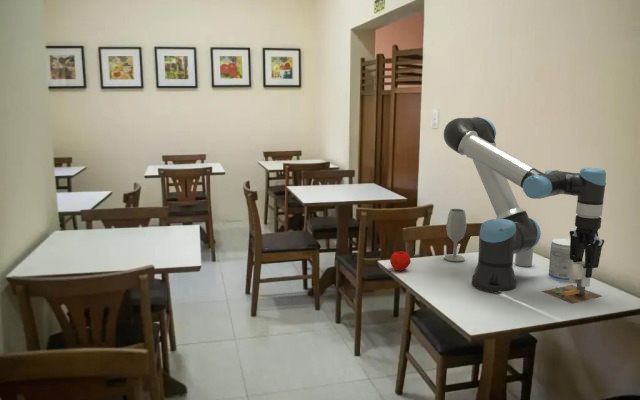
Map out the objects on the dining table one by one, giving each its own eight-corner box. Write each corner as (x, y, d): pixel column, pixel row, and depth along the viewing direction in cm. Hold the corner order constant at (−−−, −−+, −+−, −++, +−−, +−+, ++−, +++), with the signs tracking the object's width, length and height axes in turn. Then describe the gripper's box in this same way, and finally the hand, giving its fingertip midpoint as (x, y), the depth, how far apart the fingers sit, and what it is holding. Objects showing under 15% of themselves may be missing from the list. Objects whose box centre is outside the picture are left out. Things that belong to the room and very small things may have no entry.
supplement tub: (562, 274, 197) (565, 237, 194) (582, 282, 188) (586, 243, 185) (542, 277, 193) (545, 239, 190) (561, 285, 184) (565, 246, 182)
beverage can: (533, 268, 204) (535, 238, 202) (516, 266, 205) (518, 237, 203) (530, 263, 210) (532, 234, 208) (513, 262, 211) (515, 233, 209)
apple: (405, 274, 195) (406, 256, 193) (386, 271, 199) (386, 252, 197) (413, 269, 202) (413, 250, 200) (394, 265, 205) (394, 247, 204)
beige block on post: (567, 298, 169) (570, 266, 167) (561, 295, 171) (564, 263, 169) (593, 293, 173) (596, 262, 171) (586, 291, 176) (589, 259, 173)
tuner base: (572, 306, 165) (572, 301, 165) (541, 294, 176) (541, 289, 176) (602, 299, 172) (603, 294, 172) (571, 287, 183) (571, 283, 182)
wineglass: (467, 262, 210) (470, 212, 206) (446, 262, 210) (449, 212, 206) (462, 256, 219) (465, 207, 215) (441, 256, 219) (444, 207, 215)
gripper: (617, 220, 161) (609, 292, 165) (581, 210, 176) (574, 275, 181) (596, 221, 159) (588, 293, 163) (562, 211, 175) (555, 277, 179)
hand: (581, 284), depth 172 cm, fingers closed on beige block on post, 3 cm apart
